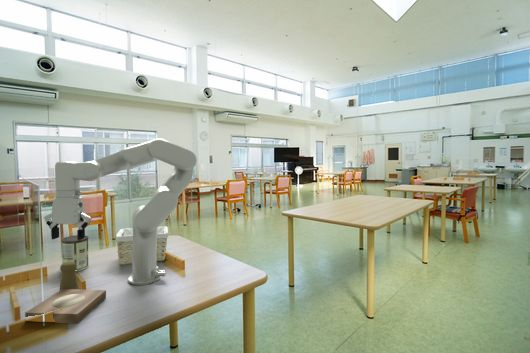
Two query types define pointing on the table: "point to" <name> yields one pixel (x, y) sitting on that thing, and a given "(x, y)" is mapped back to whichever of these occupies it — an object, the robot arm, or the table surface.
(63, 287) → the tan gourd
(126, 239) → the storage basket
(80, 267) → the coffee can
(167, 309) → the table surface
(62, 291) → the base
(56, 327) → the table surface
